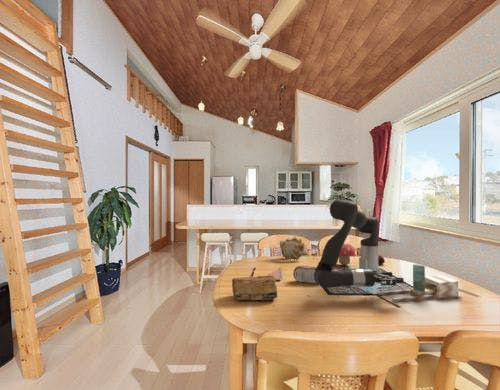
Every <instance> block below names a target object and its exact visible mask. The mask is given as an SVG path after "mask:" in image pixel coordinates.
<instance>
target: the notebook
mask: <svg viewBox="0 0 500 390" xmlns="http://www.w3.org/2000/svg"><path fill="white" fill-rule="evenodd" d="M281 267H282V266H280V268H279V269H278V270H276V271H274V272H273V271H272V273H269V274H268V275H267V276H273V277H275V280H280V281H281V279H283V269H282V270H281Z"/></svg>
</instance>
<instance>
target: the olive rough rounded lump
mask: <svg viewBox="0 0 500 390" xmlns="http://www.w3.org/2000/svg"><path fill="white" fill-rule="evenodd" d="M305 247H307V246H306V245H305V243H303V241H302V238H300V239H298V238H297V236H293V237H292V238H290V237H288V238H286V239H285V240H280V241H279V248H280V252H281V255H282V256H283V257H285V258H286V259H287V260H288V259H290V260H289V261H291V259H294V260H293V261H297V260H298V259H299V260H300V258H301V257H302V256H303V255H304V250H305ZM283 257H282V258H283ZM295 259H296V260H295Z"/></svg>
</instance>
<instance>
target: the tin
mask: <svg viewBox="0 0 500 390" xmlns="http://www.w3.org/2000/svg"><path fill="white" fill-rule="evenodd" d="M316 267H317V266H307V265H299V266H298V265H297V266H295V268H294V270H293V278H294V280H295V281H296V282H298V281H299V282H298V283H302V282H307V283H306V284H311V283H314V284H316V285H318V284H317V283H316V282H315V280H314V273H315V270H316ZM314 284H313V285H314Z"/></svg>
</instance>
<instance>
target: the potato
mask: <svg viewBox="0 0 500 390" xmlns="http://www.w3.org/2000/svg"><path fill="white" fill-rule="evenodd" d="M384 263H385V258H384V256H381V255H379V254H378V266H379V265H384Z"/></svg>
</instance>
